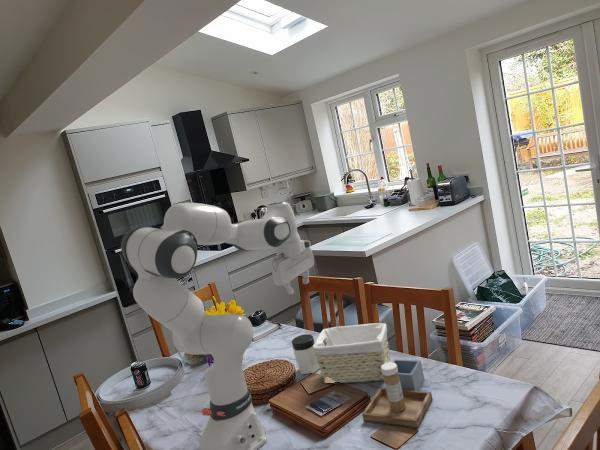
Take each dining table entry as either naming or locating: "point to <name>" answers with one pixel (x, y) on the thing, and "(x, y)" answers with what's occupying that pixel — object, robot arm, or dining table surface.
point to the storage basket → (353, 352)
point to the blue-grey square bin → (410, 374)
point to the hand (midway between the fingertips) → (299, 288)
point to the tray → (408, 417)
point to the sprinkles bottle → (393, 386)
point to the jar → (305, 354)
